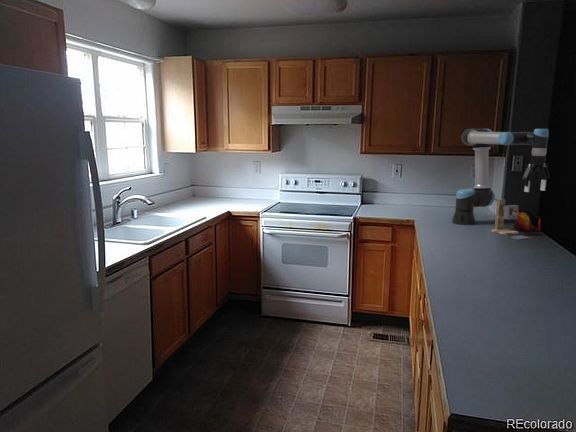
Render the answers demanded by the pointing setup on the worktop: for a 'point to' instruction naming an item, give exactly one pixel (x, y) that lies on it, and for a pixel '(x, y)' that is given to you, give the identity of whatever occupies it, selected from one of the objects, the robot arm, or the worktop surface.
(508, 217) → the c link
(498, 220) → the stand
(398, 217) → the worktop surface
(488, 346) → the worktop surface
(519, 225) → the mug
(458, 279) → the worktop surface
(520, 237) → the pad
